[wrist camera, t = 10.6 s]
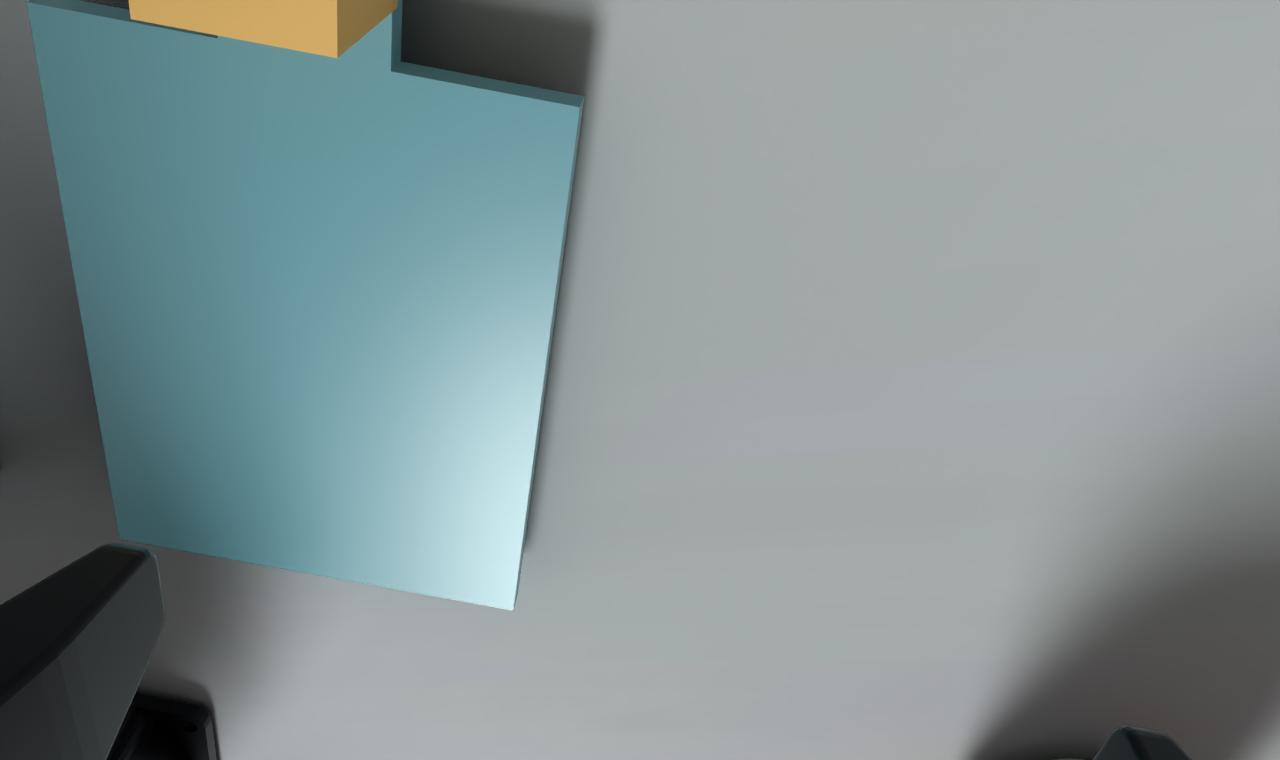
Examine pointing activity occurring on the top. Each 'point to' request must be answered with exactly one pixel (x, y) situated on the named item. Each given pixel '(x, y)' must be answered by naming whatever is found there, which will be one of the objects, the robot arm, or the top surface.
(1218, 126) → the top surface
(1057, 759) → the soda can
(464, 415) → the lid
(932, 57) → the top surface
